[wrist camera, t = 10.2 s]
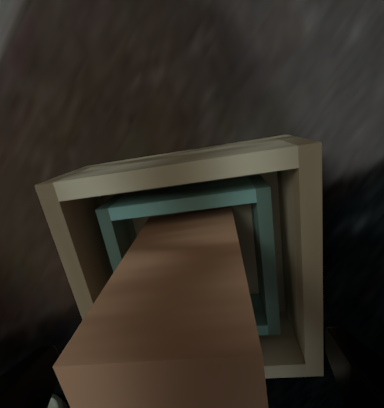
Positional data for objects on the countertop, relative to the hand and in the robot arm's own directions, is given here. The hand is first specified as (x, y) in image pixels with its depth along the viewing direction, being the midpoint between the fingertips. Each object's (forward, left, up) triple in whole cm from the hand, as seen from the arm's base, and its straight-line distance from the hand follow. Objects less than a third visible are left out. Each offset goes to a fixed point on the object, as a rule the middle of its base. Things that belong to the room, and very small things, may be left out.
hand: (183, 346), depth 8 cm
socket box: (0, 0, -8) cm, 8 cm away
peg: (0, 0, -6) cm, 7 cm away
